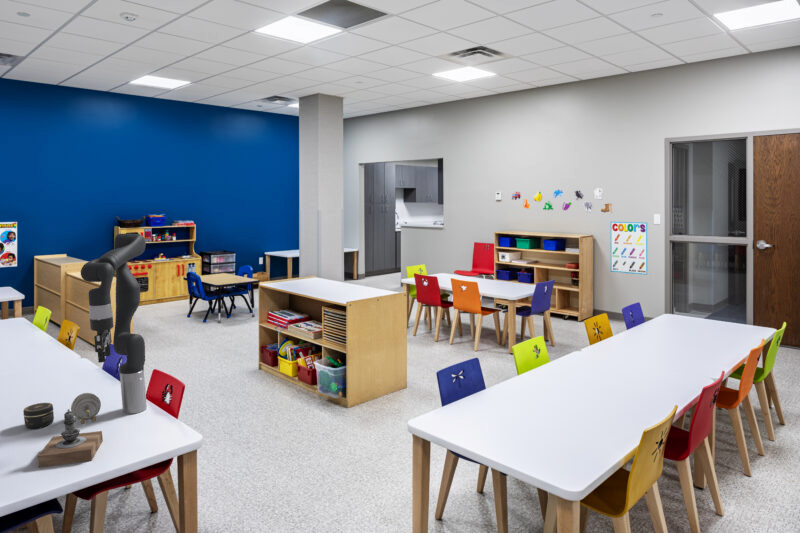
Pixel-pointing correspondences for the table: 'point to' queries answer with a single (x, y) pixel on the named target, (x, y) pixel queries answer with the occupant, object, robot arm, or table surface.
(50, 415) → the jar
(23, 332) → the table surface
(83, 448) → the walnut plinth
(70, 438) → the stone chess piece
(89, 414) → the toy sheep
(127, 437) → the table surface
